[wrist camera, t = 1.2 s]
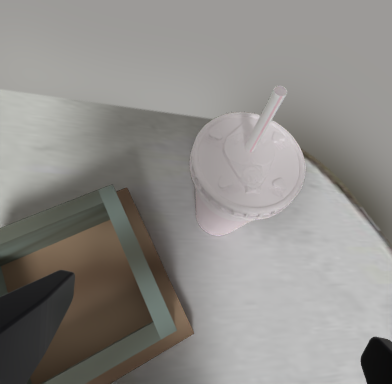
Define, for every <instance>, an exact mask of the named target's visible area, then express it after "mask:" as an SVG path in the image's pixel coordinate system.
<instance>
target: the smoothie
mask: <svg viewBox="0 0 392 384" xmlns="http://www.w3.org/2000/svg"><path fill="white" fill-rule="evenodd" d="M286 94H287V90H286V89H285V88H284V87H282V86H276V87H275V88H274V90H273V92H272V94H271V96H270V98H269V99H268V102H267V104H266V105H265V108H264V109H263V111H262V113H261V115H259V114H255V113H249V112H233V113H227V114H224V115H221V116H218V117H216V118H214V119H213V120H211V121H210V122H208V123H207V124H206V125H205V126H204V127H203V128H202V129H201V130H200V132H199V133H198V135H197V137H196V139H195V141H194V144H193V148H192V150H191V154H190V162H189V166H190V172H191V178H192V180H193V182H194V184H195V195H196V219H197V222H198V224H199V226H200V227H201V228H202V229H203V230H204V231H205V232H207V233H209V234H211V235H215V236H222V235H226V234H228V233H230V232H232V231H234V230H236V229H238V228H239V227H241V226H243V225H245V224H247V223H249V222H251V221H253V220H259V219H266V218H269V217H271V216H274V215H276V214H278V213H280V212H281V211H283V210H284V209H285V208H286V207H287V206H289V205H290V203H291V202H292V201H293V200H294V199H295V198H296V196H297V195H298V194H299V192H300V190H301V188H302V186H303V183H304V180H305V173H306V168H305V160H304V156H303V153H302V151H301V149H300V147H299V145H298V143H297V142H296V140H295V139H294V138H293V136H292V135H291V134H290V133H289V132H288V131H287V130H286V129H285V128H284V127H282V126H281V125H280V124H278V123H276V122H275V121H273V120H272V119H273V117H274V115H275V114H276V112H277V110H278V108H279V107H280V105H281V103H282V101H283V99H284V98H285V96H286Z"/></svg>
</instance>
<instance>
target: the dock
mask: <svg viewBox="0 0 392 384" xmlns="http://www.w3.org/2000/svg"><path fill="white" fill-rule="evenodd" d="M58 270H66V271H70V272H73V273H74V274H75V285H74V295H73V299H72V302H71V304H70V306H69V308H68V310H67V312H66V314H65V316H64V318H63V320H62V322H61V324H60V326H59V328H58V330H57V332H56V334H55V336H54V338H53V339H52V341H51V343H50V345H49V347H48V349H47V351H46V353H45V355H44V356H43V358H42V360H41V361H40V363H39V364H38V366H37V368H36V369H35V371H34V372H33V374H32V375H31V377H30V378H29V380H28V381H27V383H26V384H110V383H112V382H114V381H115V380H117V379H119V378H120V377H122V376H124V375H126V374H127V373H129V372H131V371H132V370H134V369H136V368H137V367H139V366H141V365H142V364H144V363H146V362H147V361H149V360H151V359H152V358H154V357H156V356H157V355H159V354H161V353H162V352H164V351H166V350H167V349H169V348H171V347H172V346H174V345H176V344H178V343H179V342H181V341H183V340H184V339H186V338H188V337H189V336H191V335H193V334H194V332H193V330H192V327H191V325H190V323H189V321H188V319H187V317H186V314H185V312H184V310H183V308H182V306H181V304H180V301H179V299H178V297H177V295H176V293H175V291H174V288H173V286H172V284H171V282H170V280H169V277H168V275H167V273H166V271H165V269H164V267H163V264H162V262H161V260H160V258H159V256H158V254H157V251H156V249H155V247H154V245H153V243H152V241H151V238H150V236H149V234H148V232H147V230H146V228H145V225H144V223H143V221H142V219H141V217H140V214H139V212H138V210H137V208H136V206H135V204H134V201H133V199H132V197H131V195H130V193H129V191H128V188H124V189H122V190H119V191H117V192H116V191H115V189H114V186H113V184H112V185H109V186H107V187H104V188H101V189H99V190H96V191H94V192H91V193H89V194H86V195H84V196H81V197H78V198H76V199H73V200H71V201H68V202H66V203H63V204H61V205H58V206H55V207H53V208H50V209H48V210H45V211H43V212H40V213H38V214H35V215H32V216H30V217H27V218H25V219H22V220H20V221H17V222H14V223H12V224H9V225H7V226H4V227H2V228H0V296H3V295H5V294H7V293H9V292H12V291H14V290H16V289H18V288H21V287H23V286H25V285H27V284H29V283H32V282H34V281H36V280H38V279H41V278H43V277H45V276H47V275H49V274H52V273H54V272H56V271H58Z"/></svg>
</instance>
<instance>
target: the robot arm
mask: <svg viewBox="0 0 392 384" xmlns="http://www.w3.org/2000/svg"><path fill="white" fill-rule="evenodd" d="M74 285H75V274H74V273H73V272H70V271H66V270H58V271H56V272H54V273H52V274H49V275H47V276H45V277H43V278H41V279H38V280H36V281H34V282H32V283H29V284H27V285H25V286H23V287H21V288H18V289H16V290H14V291H12V292H9V293H7V294H5V295H3V296H0V384H26V383H27V381H28V380H29V378H30V377H31V375H32V374H33V372H34V371H35V369H36V368H37V366H38V364H39V363H40V361H41V360H42V358H43V356H44V355H45V353H46V351H47V349H48V347H49V345H50V343H51V341H52V339H53V338H54V336H55V334H56V332H57V330H58V328H59V326H60V324H61V322H62V320H63V318H64V316H65V314H66V312H67V310H68V308H69V306H70V304H71V302H72V299H73V295H74ZM361 366H362V369H363V372H364V375H365V378H366V381H367V384H392V342H391V341H390V340H388V339H384V338H380V337H373V338H371V339H370V341H369V343H368V345H367V346H366V348H365V350H364V352H363V354H362V356H361Z"/></svg>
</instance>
